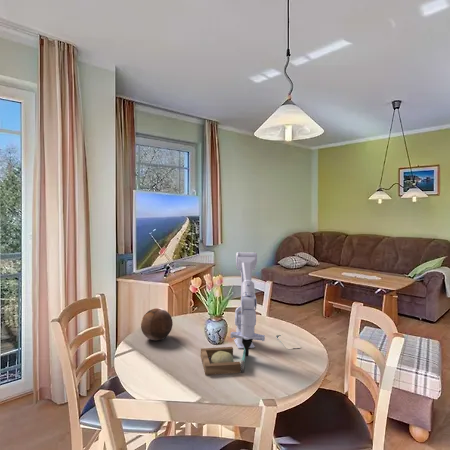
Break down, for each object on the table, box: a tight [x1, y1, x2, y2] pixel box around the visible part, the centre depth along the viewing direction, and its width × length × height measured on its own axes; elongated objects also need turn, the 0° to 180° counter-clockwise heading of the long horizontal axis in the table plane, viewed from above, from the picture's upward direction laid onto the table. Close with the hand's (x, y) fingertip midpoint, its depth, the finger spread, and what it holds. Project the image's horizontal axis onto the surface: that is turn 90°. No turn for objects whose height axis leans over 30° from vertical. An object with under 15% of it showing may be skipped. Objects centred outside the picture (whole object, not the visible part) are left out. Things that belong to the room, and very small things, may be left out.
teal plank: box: [240, 348, 247, 373], centre depth 138 cm, size 17×1×4 cm, turn 172°
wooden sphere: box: [140, 307, 173, 342], centre depth 160 cm, size 15×15×15 cm
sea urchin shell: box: [210, 351, 234, 363], centre depth 137 cm, size 9×8×8 cm
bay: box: [200, 346, 242, 376], centre depth 137 cm, size 16×14×4 cm
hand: (247, 355), depth 141 cm, fingers closed
